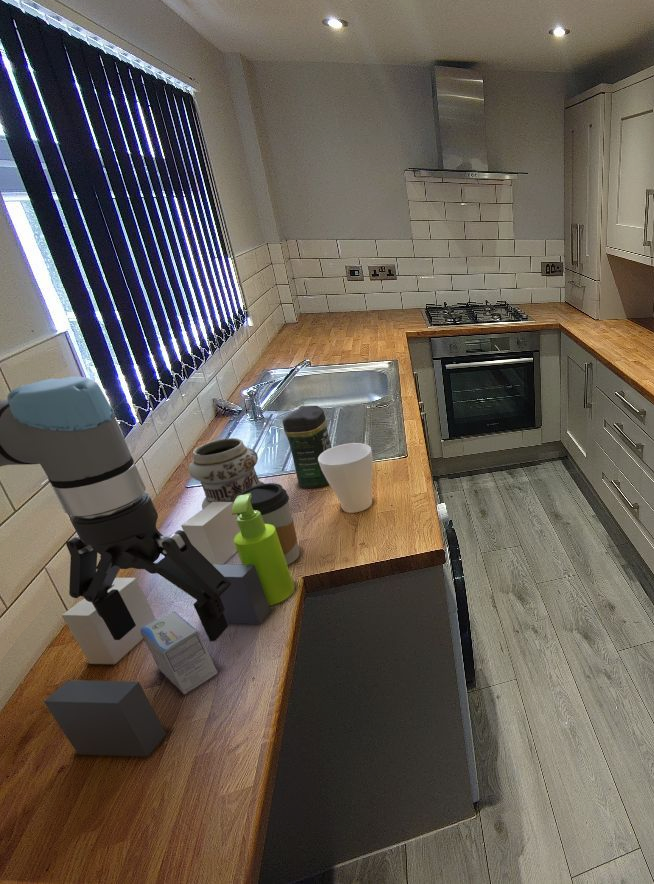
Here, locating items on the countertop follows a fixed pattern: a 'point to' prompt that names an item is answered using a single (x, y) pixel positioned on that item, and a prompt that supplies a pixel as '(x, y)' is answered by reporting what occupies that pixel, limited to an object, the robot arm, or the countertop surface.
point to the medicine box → (179, 651)
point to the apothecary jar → (224, 469)
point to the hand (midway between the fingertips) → (172, 633)
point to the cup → (349, 474)
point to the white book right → (213, 532)
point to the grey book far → (243, 595)
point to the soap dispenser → (262, 550)
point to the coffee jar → (307, 444)
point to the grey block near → (106, 717)
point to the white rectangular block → (95, 631)
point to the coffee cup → (276, 515)
